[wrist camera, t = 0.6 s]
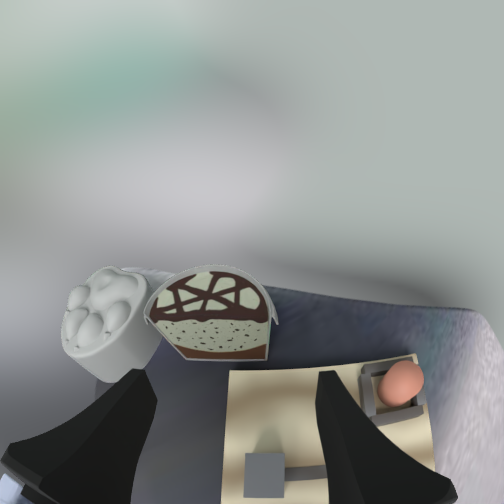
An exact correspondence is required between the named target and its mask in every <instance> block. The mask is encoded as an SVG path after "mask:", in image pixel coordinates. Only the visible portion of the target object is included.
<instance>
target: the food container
mask: <svg viewBox="0 0 504 504" xmlns="http://www.w3.org/2000/svg"><path fill="white" fill-rule="evenodd" d="M143 313H144V319H145V321H146V324H147V325H148V324H149V322H151V323H152V324H153V325H154V327H155V328H156V329H157V330H158V331H159V332H160V333H161V334H162V335H163V336H164V337H165V339H166V340H167V341H168V342H169V343H170V344H171V345H172V346H173V347H174V348H175V349H176V350H177V351H178V352H179V353H180V354H181V355H182V356H183V357H184V358H185V359H186V360H198V361H267V358H268V348H269V338H270V328H271V317H273V318H274V320H275V322H276V324H277V325H278V316H277V313H276V310H275V307H274V304H273V302H272V300H271V298H270V296H269V294H268V293H267V291H266V290H265V288H264V287H263V286H262V285H261V284H260V283H259V282H258V281H257V280H256V279H255V278H254V277H253V276H251V275H250V274H248V273H247V272H245V271H243V270H240V269H238V268H235V267H231V266H226V265H203V266H198V267H193V268H190V269H187V270H184V271H182V272H180V273H178V274H176V275H174V276H173V277H171V278H170V279H168V280H167V281H166V282H164V283H163V284H162V285H161V286H160V287H159V288H158V289H157V290H156V291H155V292H154V294H153V295H152V296H151V298H150V299H149V301H148V303H147V305H146V307H145V309H144V312H143Z"/></svg>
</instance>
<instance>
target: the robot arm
mask: <svg viewBox="0 0 504 504" xmlns="http://www.w3.org/2000/svg"><path fill="white" fill-rule="evenodd" d="M156 405H157V398H156V395H155V393H154V391H153V389H152V386H151V384H150V382H149V379H148V377H147V375H146V372H145V370H142V369H134V368H132V369H131V370H130V371H129V372H128V373H126V374H125V375H124V376H123V377H122V378H121V379H120V380H119V381H118V382H117V383H115V384H114V385H113V386H112V387H111V388H110V389H109V390H108V391H107V392H105V393H104V394H103V395H102V396H101V397H100V398H99V399H97V400H96V401H95V402H93V403H92V404H91V405H90V406H89V407H87V408H86V409H85V410H84V411H82V412H81V413H79V414H78V415H76V416H75V417H73V418H72V419H70V420H69V421H67V422H65V423H64V424H62V425H60V426H58V427H56V428H54V429H52V430H50V431H48V432H46V433H43V434H41V435H38V436H35V437H33V438H30V439H27V440H22V441H19V442H15V443H11V444H10V445H9V446H8V448H7V450H6V451H5V453H4V455H3V457H2V458H1V460H0V461H1V463H2V464H3V465H4V466H5V467H6V468H7V469H8V470H9V471H10V472H12V473H13V474H14V475H15V476H16V477H18V478H19V479H20V480H21V481H22V482H24V483H25V485H24V487H23V486H21V485H20V484H19V483H17V482H16V481H15V480H13V479H12V478H11V477H9V476H8V475H7V474H4V475H3V477H2V478H1V480H0V504H130V502H131V493H132V487H133V481H134V476H135V471H136V467H137V463H138V459H139V456H140V454H141V451H142V448H143V446H144V443H145V440H146V438H147V435H148V432H149V430H150V427H151V424H152V421H153V418H154V414H155V410H156ZM315 409H316V420H317V427H318V431H319V436H320V441H321V446H322V450H323V455H324V460H325V465H326V471H327V479H328V494H329V504H453V503H454V502H455V501H456V500H457V499H458V496H457V493H456V490H455V487H454V485H453V483H452V482H451V479H449V478H447V477H444V476H442V475H440V474H438V473H436V472H435V471H433V470H431V469H429V468H427V467H426V466H424V465H423V464H421V463H419V462H418V461H416V460H415V459H414V458H412V457H411V456H409V455H408V454H407V453H405V452H404V451H403V450H401V449H400V448H399V447H398V446H396V445H395V444H394V443H393V442H392V441H391V440H390V439H389V438H387V437H386V436H385V435H384V434H383V433H382V432H381V431H380V430H379V429H378V428H377V427H376V425H375V424H374V423H373V422H372V421H371V420H370V419H369V418H368V416H367V415H366V414H365V413H364V412H363V410H362V409H361V408H360V406H359V405H358V404H357V402H356V401H355V400H354V398H353V397H352V396H351V394H350V393H349V391H348V390H347V388H346V387H345V385H344V384H343V382H342V381H341V379H340V377H339V376H338V374H337V372H336V371H335V370H328V371H319V375H318V383H317V391H316V398H315Z"/></svg>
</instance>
